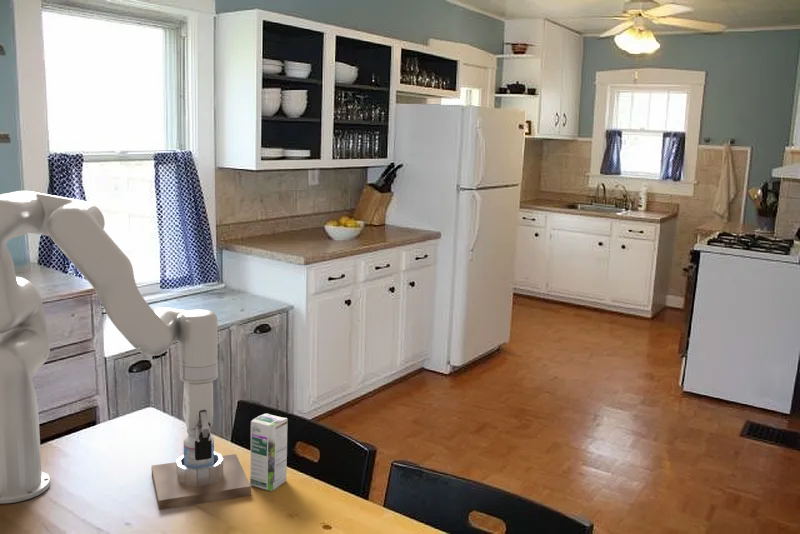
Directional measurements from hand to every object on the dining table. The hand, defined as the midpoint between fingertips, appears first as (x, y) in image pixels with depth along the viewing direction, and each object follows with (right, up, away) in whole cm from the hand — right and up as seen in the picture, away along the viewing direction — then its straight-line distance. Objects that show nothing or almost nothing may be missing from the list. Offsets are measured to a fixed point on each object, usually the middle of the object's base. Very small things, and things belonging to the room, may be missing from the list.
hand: (199, 449), depth 151 cm
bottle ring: (0, -6, +1) cm, 6 cm away
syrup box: (+14, -8, +3) cm, 16 cm away
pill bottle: (0, -6, +1) cm, 6 cm away
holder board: (0, -8, +1) cm, 8 cm away
